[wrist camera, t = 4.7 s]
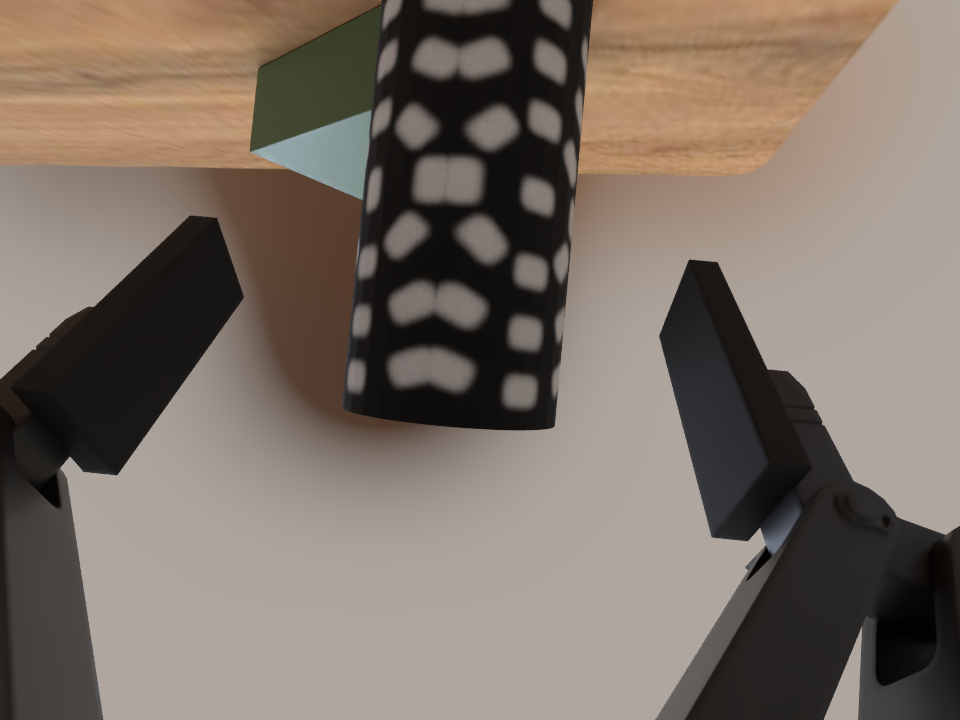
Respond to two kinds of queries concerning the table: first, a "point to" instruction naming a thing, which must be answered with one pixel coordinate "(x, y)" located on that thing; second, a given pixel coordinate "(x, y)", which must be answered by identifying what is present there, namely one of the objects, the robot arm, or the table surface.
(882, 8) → the table surface
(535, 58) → the spotted tube
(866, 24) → the table surface
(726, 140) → the table surface
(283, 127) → the block
